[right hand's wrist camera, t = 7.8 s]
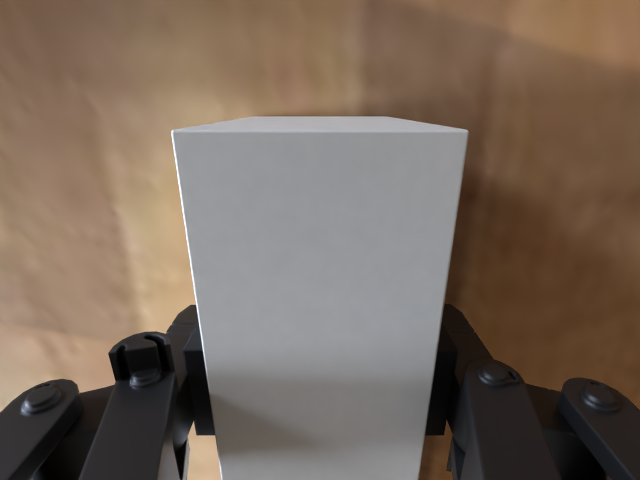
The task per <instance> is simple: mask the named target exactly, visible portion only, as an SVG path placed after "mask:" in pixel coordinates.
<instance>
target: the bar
mask: <svg viewBox="0 0 640 480" xmlns="http://www.w3.org/2000/svg"><path fill="white" fill-rule="evenodd" d="M468 137H469V131H468V130H465V129H459V128H453V127H447V126H441V125H435V124H429V123H423V122H417V121H411V120H405V119H399V118H393V117H387V116H253V117H247V118H241V119H235V120H229V121H223V122H217V123H211V124H205V125H199V126H193V127H187V128H181V129H175V130H172V140H173V147H174V154H175V161H176V168H177V175H178V181H179V188H180V195H181V202H182V209H183V216H184V223H185V230H186V237H187V243H188V250H189V257H190V264H191V271H192V278H193V285H194V292H195V299H196V306H197V312H198V319H199V326H200V333H201V340H202V347H203V354H204V361H205V368H206V375H207V381H208V388H209V395H210V402H211V409H212V416H213V423H214V430H215V437H216V443H217V450H218V457H219V464H220V471H221V478H222V480H419V473H420V466H421V459H422V452H423V446H424V439H425V432H426V425H427V418H428V411H429V404H430V398H431V391H432V384H433V377H434V370H435V363H436V356H437V349H438V343H439V336H440V329H441V322H442V315H443V308H444V301H445V295H446V288H447V281H448V274H449V267H450V260H451V253H452V246H453V240H454V233H455V226H456V219H457V212H458V205H459V198H460V191H461V185H462V178H463V171H464V164H465V157H466V150H467V143H468Z"/></svg>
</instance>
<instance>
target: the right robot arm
mask: <svg viewBox="0 0 640 480" xmlns="http://www.w3.org/2000/svg"><path fill="white" fill-rule="evenodd" d="M108 354H109V358H110V362H111V365H112V369H113V373H114V377H115V381H116V383H115V385H112V386H109V387H105V388H101V389H96V390H92V391H88V392H83V393H79V390H78V386H77V384H75V383H74V382H73V381H72V380H66V379H59V380H52V381H48V382H45V383H42V384H39V385H36V386H34V387H32V388H31V389H29V390H27V391H25V392H23V393H22V394H21V395H19V396H18V397H17V398H15V399H14V400H13V401H12V402H11V403H10V404H9V405H8V406H7V407H6V408H5V409H4V410H3V411H2V412H1V413H0V480H187V473H188V463H189V452H190V448H189V442H188V434H189V431H190V429H191V426H192V424H193V421H194V424H195V430H196V435H215V430H214V423H213V416H212V409H211V402H210V395H209V388H208V381H207V375H206V368H205V361H204V354H203V347H202V340H201V333H200V326H199V319H198V312H197V306H196V305H190V306H189V307H187V308H186V309H184V310H183V311H182V312H180V313H179V314H178V315H177V317H176V318H175V320H174V321H173V323H172V325H171V326H170V327H169V329H168V330H167V333H166V334H164V333H160V332H143V333H139V334H135V335H132V336H130V337H127V338H125V339H123V340H122V341H120V342H119V343H117V344H116V345H115V346H113V348H112V349H111V350H110V352H109V353H108ZM446 419H447V421H448V424H449V426H450V429H451V431H452V434H453V436H452V442H451V447H450V452H449V458H448V463H447V470H446V471H451V469H452V472H453V480H610V479H611V480H640V410H639V409H638V408H637V407H636V406H635V405H634V404H633V403H632V402H631V401H630V400H629V399H627V398H626V397H625V396H623V395H622V394H621V393H620V392H618V391H617V390H615V389H613V388H611V387H609V386H607V385H605V384H603V383H600V382H597V381H594V380H591V379H585V378H572V379H568V380H567V381H566V382H565V383H564V384H563V387H562V391H561V392H559V391H555V390H550V389H546V388H541V387H537V386H533V385H530V384H526V383H525V382H524V380H523V379H522V377H521V376H520V374H519V373H518V372H516V371H515V370H514V369H513V368H512V367H510V366H508V365H506V364H504V363H502V362H500V361H496V360H494V359H493V358H492V356H491V355H490V353H489V352H488V350H487V349H486V347H485V346H484V344H483V343H482V341H481V340H480V339H479V337H478V336H477V334H476V333H474V330H473V328H472V327H471V325H470V324H468V321H467V319H466V318H465V317H464V315H463V314H462V312H460V311H459V310H458V309H456V308H455V307H453V306H452V305H451V304H444V308H443V315H442V322H441V329H440V336H439V343H438V349H437V356H436V363H435V370H434V377H433V384H432V391H431V398H430V404H429V411H428V418H427V425H426V432H425V435H444V431H445V425H446Z"/></svg>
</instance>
